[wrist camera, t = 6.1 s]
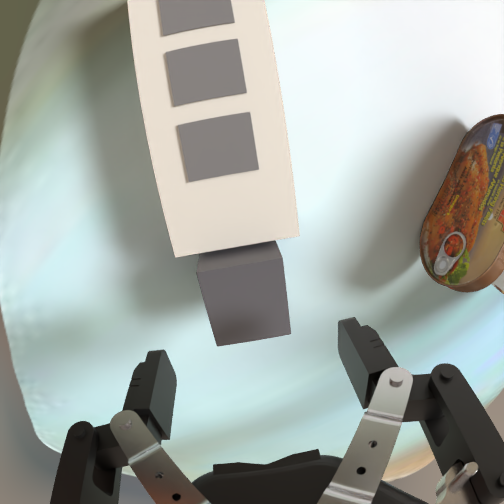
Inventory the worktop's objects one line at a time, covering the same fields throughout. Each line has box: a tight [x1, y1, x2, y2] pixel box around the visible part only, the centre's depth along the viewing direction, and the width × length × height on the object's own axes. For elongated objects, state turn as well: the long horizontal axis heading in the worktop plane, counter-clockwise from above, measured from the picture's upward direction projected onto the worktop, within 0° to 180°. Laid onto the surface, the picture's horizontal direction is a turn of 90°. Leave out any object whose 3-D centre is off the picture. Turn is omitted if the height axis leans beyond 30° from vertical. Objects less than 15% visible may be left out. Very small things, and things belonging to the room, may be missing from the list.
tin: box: [420, 114, 504, 292], centre depth 18 cm, size 15×3×8 cm, turn 155°
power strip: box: [127, 0, 300, 258], centre depth 15 cm, size 18×7×6 cm, turn 9°
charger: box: [196, 240, 291, 346], centre depth 19 cm, size 8×4×6 cm, turn 9°
